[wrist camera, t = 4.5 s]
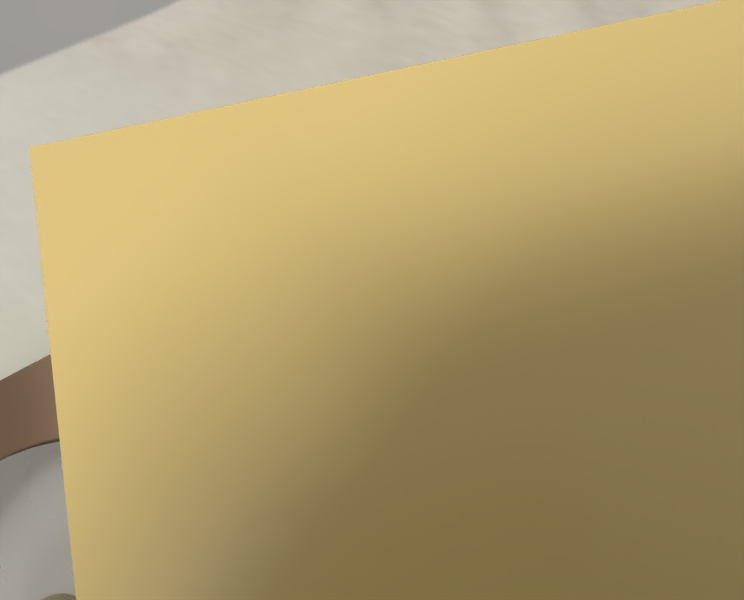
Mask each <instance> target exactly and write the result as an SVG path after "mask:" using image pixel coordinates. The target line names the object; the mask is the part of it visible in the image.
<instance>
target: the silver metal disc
mask: <svg viewBox="0 0 744 600" xmlns="http://www.w3.org/2000/svg"><path fill="white" fill-rule="evenodd" d="M0 600H76V594H75V584H74V574H73V565H72V555H71V545H70V536H69V526H68V516H67V507H66V497H65V487H64V478H63V468H62V458H61V449H60V442H54V443H50V444H46V445H41V446H37V447H33V448H30V449H27V450H25V451H22V452H19V453H17V454H14V455H11V456H9V457H7V458H5V459H3V460H1V461H0Z"/></svg>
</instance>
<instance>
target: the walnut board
mask: <svg viewBox="0 0 744 600" xmlns="http://www.w3.org/2000/svg"><path fill="white" fill-rule="evenodd" d="M54 442H60V439H59V429H58V420H57V410H56V400H55V391H54V381H53V371H52V362H51V354H50V355H48V356H47V357H45V358H43V359H41V360H39V361H37V362H35V363H33V364H31V365H29V366H27V367H26V368H24V369H22V370H20V371H18V372H16V373H14V374H12V375H10V376H8V377H6V378H4V379H3V380H1V381H0V461H1V460H3V459H5V458H7V457H9V456H11V455H14V454H17V453H19V452H22V451H25V450H27V449H30V448H33V447H37V446H41V445H46V444H50V443H54Z"/></svg>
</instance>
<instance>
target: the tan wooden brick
mask: <svg viewBox="0 0 744 600" xmlns="http://www.w3.org/2000/svg"><path fill="white" fill-rule="evenodd" d="M29 149H30V159H31V169H32V178H33V188H34V198H35V207H36V217H37V227H38V236H39V246H40V256H41V265H42V275H43V285H44V294H45V304H46V313H47V323H48V333H49V342H50V352H51V362H52V371H53V381H54V391H55V400H56V410H57V420H58V429H59V439H60V449H61V458H62V468H63V478H64V487H65V497H66V507H67V516H68V526H69V536H70V545H71V555H72V565H73V574H74V584H75V594H76V600H744V0H721V1H716V2H711V3H707V4H702V5H697V6H693V7H688V8H683V9H679V10H674V11H669V12H664V13H660V14H655V15H650V16H646V17H641V18H636V19H632V20H627V21H622V22H617V23H613V24H608V25H603V26H599V27H594V28H589V29H585V30H580V31H575V32H570V33H566V34H561V35H556V36H552V37H547V38H542V39H538V40H533V41H528V42H524V43H519V44H514V45H509V46H505V47H500V48H495V49H491V50H486V51H481V52H477V53H472V54H467V55H462V56H458V57H453V58H448V59H444V60H439V61H434V62H430V63H425V64H420V65H415V66H411V67H406V68H401V69H397V70H392V71H387V72H383V73H378V74H373V75H368V76H364V77H359V78H354V79H350V80H345V81H340V82H336V83H331V84H326V85H321V86H317V87H312V88H307V89H303V90H298V91H293V92H289V93H284V94H279V95H275V96H270V97H265V98H260V99H256V100H251V101H246V102H242V103H237V104H232V105H228V106H223V107H218V108H213V109H209V110H204V111H199V112H195V113H190V114H185V115H181V116H176V117H171V118H166V119H162V120H157V121H152V122H148V123H143V124H138V125H134V126H129V127H124V128H119V129H115V130H110V131H105V132H101V133H96V134H91V135H87V136H82V137H77V138H72V139H68V140H63V141H58V142H54V143H49V144H44V145H40V146H35V147H30V148H29Z"/></svg>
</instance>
